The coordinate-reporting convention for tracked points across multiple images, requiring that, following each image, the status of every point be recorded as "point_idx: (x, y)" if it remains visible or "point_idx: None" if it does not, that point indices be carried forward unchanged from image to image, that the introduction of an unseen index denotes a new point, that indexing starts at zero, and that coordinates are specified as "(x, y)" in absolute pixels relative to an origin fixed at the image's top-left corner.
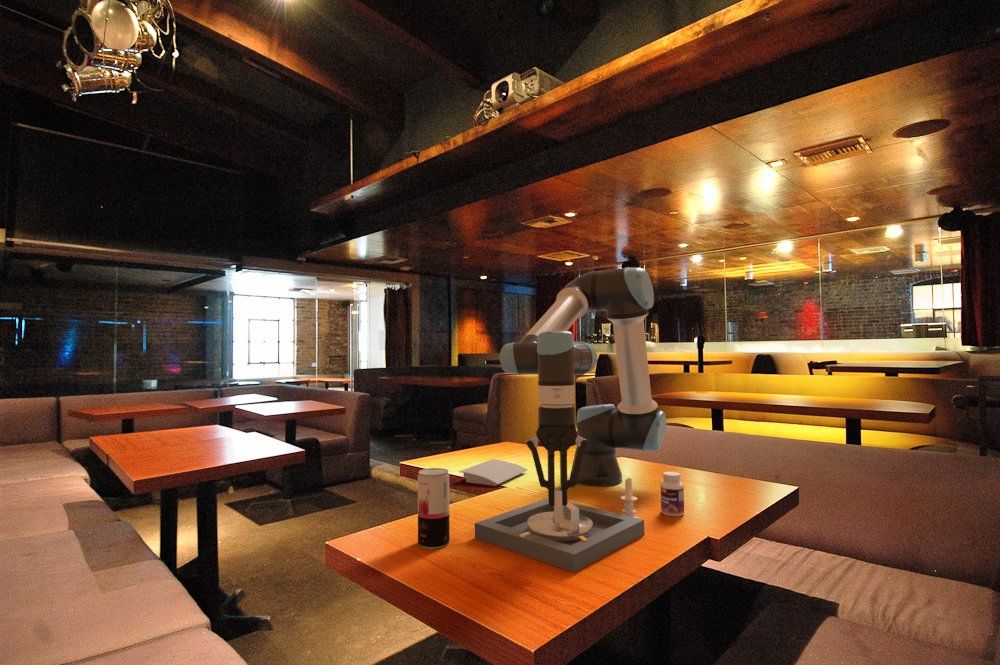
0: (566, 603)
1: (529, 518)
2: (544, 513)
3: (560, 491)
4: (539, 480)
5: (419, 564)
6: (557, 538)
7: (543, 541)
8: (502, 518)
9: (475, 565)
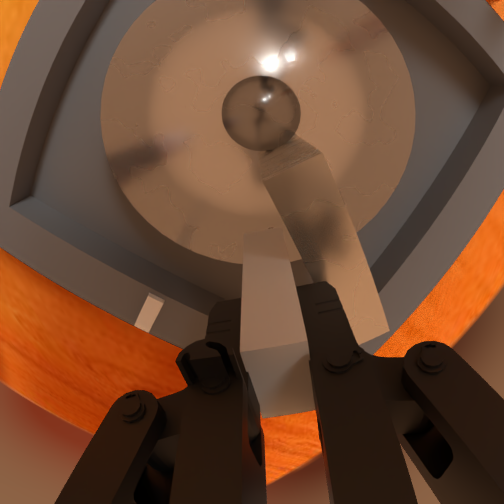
0: (296, 442)
1: (105, 109)
2: (164, 12)
3: (305, 408)
4: (146, 482)
5: (11, 359)
6: None
7: None
8: (13, 151)
9: (89, 363)
